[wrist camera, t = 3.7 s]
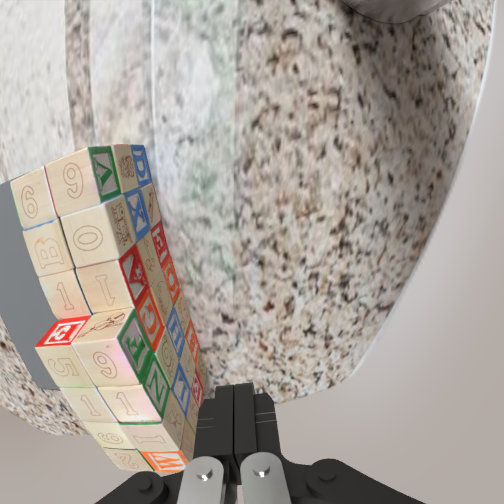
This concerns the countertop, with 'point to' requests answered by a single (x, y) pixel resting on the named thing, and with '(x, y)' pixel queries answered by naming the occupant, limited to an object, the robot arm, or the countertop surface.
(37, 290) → the mat
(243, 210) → the countertop surface
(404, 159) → the countertop surface
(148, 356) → the stack of blocks
